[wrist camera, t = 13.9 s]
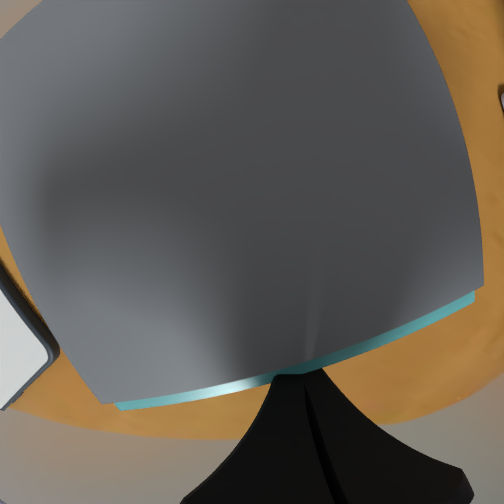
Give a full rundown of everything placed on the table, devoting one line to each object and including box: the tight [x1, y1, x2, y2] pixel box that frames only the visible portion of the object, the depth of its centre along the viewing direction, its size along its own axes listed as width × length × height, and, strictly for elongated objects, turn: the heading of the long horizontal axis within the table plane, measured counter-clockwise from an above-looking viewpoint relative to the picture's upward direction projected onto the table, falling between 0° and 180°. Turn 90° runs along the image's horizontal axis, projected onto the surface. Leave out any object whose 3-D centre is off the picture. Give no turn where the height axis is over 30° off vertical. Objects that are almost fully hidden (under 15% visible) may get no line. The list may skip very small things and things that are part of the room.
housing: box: [0, 0, 484, 404], centre depth 9 cm, size 12×12×6 cm
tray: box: [114, 291, 474, 411], centre depth 9 cm, size 12×12×5 cm
